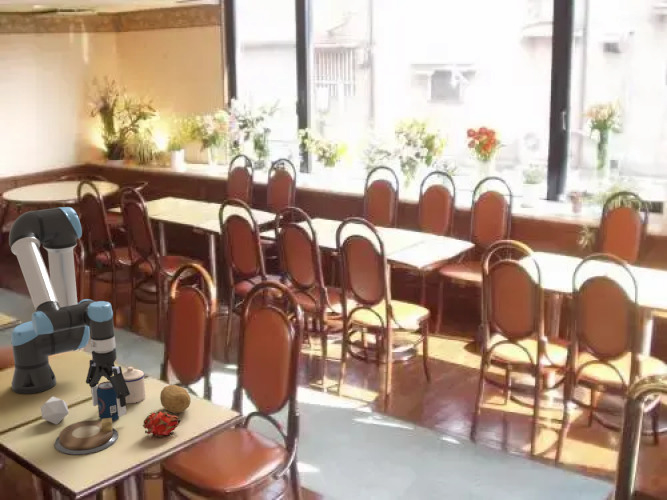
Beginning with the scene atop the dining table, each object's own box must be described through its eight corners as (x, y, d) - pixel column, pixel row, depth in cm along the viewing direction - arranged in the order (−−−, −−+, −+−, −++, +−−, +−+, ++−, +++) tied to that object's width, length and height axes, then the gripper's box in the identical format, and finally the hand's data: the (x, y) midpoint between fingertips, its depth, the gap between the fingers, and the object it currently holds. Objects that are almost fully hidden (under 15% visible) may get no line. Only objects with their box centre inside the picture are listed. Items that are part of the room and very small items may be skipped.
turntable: (57, 452, 244) (55, 437, 243) (61, 429, 259) (60, 415, 258) (112, 446, 247) (111, 431, 246) (113, 423, 263) (112, 409, 261)
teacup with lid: (141, 391, 289) (139, 360, 286) (149, 400, 281) (147, 369, 279) (108, 398, 283) (105, 367, 280) (115, 408, 276) (112, 376, 273)
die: (75, 421, 268) (70, 393, 271) (59, 419, 260) (55, 391, 263) (53, 429, 269) (50, 401, 273) (37, 427, 261) (33, 398, 265)
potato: (180, 399, 282) (179, 378, 280) (197, 414, 270) (196, 391, 268) (154, 406, 276) (152, 385, 274) (170, 421, 265) (168, 399, 263)
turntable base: (42, 443, 252) (42, 441, 252) (94, 421, 266) (94, 419, 266) (78, 461, 240) (78, 459, 240) (130, 437, 255) (130, 435, 255)
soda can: (96, 417, 269) (92, 384, 266) (115, 411, 273) (112, 378, 270) (104, 424, 264) (100, 390, 261) (124, 418, 268) (121, 385, 265)
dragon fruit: (140, 441, 255) (178, 439, 260) (145, 436, 248) (184, 434, 253) (140, 414, 258) (177, 413, 263) (144, 408, 251) (182, 407, 256)
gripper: (71, 344, 267) (77, 404, 272) (118, 361, 252) (123, 423, 257) (90, 338, 273) (96, 396, 278) (137, 353, 258) (142, 415, 263)
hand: (109, 409), depth 267 cm, fingers open, 13 cm apart
